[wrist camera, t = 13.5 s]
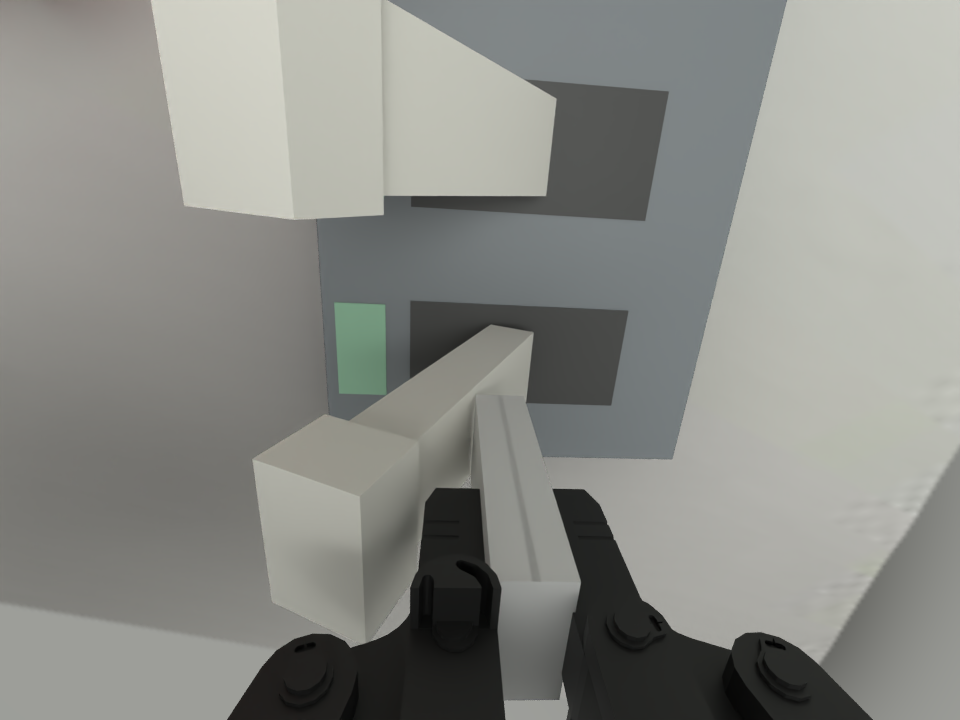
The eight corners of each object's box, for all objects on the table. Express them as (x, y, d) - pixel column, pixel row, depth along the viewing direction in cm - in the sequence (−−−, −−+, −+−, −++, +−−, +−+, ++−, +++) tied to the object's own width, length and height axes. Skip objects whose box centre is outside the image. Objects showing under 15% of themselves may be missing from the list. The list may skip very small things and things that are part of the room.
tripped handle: (479, 396, 20) (272, 602, 10) (484, 316, 19) (251, 458, 9) (532, 409, 19) (365, 647, 9) (542, 326, 18) (359, 496, 8)
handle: (491, 200, 17) (184, 205, 7) (498, 89, 16) (137, -83, 6) (553, 205, 16) (294, 219, 6) (566, 88, 15) (266, -119, 5)
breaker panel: (345, 420, 24) (330, 453, 21) (308, -324, 14) (272, -449, 11) (647, 427, 25) (672, 460, 22) (797, -252, 15) (875, -349, 13)
